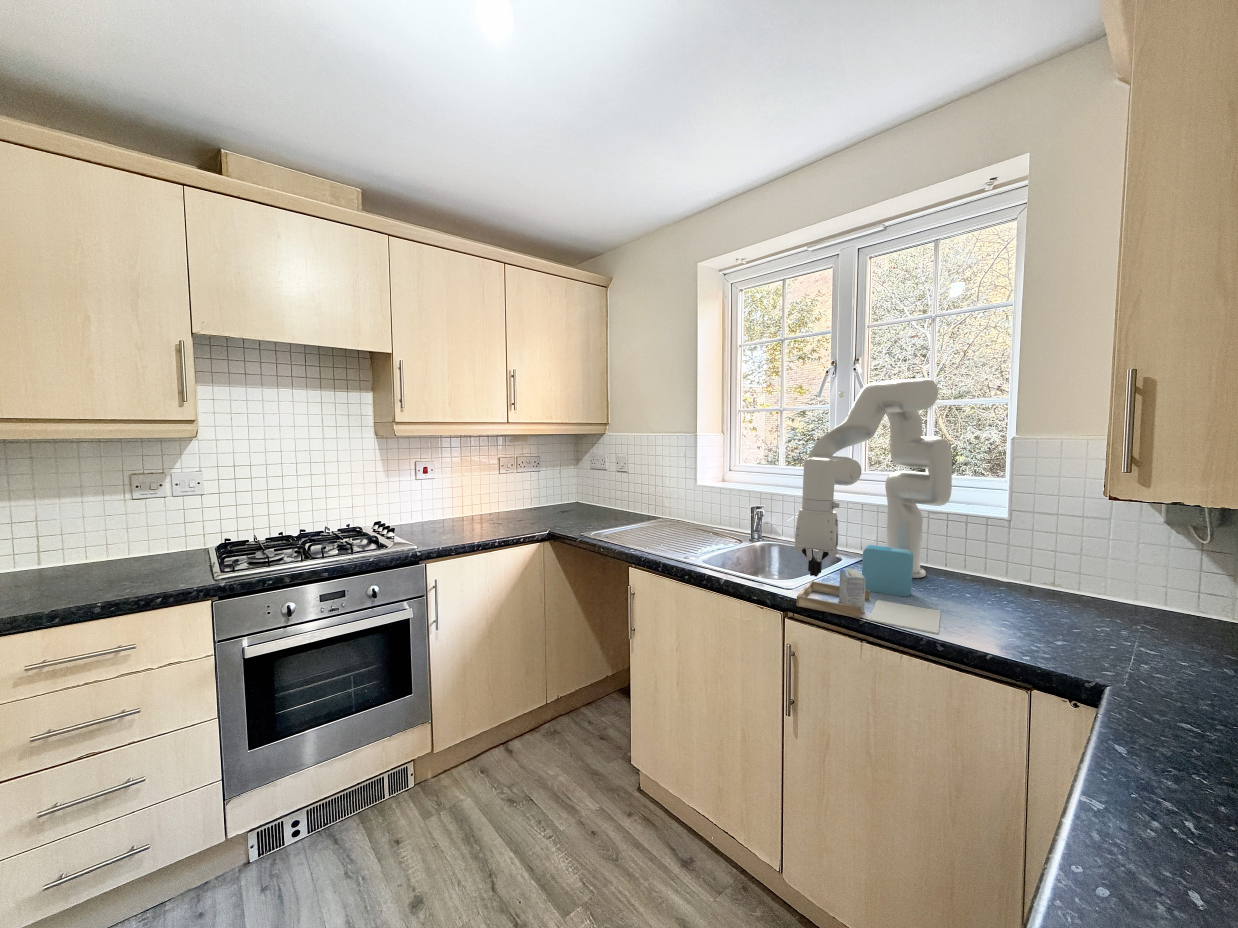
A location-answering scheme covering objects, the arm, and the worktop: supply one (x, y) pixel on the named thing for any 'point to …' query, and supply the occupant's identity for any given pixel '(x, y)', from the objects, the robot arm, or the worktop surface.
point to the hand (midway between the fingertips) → (814, 574)
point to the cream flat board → (906, 616)
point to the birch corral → (827, 605)
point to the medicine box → (852, 588)
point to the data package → (888, 570)
